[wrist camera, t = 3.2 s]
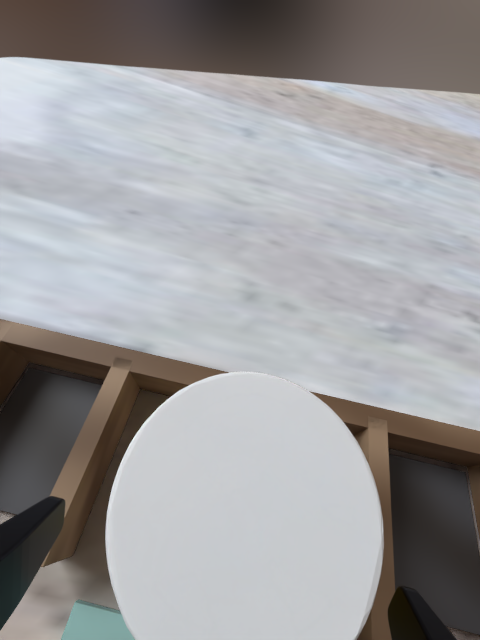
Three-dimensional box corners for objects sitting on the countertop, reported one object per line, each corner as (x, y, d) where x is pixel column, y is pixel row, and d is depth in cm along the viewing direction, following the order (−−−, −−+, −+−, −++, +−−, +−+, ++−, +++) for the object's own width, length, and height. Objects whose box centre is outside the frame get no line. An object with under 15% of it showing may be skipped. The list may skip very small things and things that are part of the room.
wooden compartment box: (663, 1335, 8) (896, 1762, 5) (-405, 969, 9) (-662, 1165, 6) (482, 450, 18) (526, 442, 16) (22, 341, 20) (-6, 317, 17)
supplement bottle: (310, 513, 16) (527, 538, 5) (210, 624, 13) (208, 1152, 3) (232, 413, 18) (266, 283, 7) (135, 491, 16) (-33, 467, 5)
